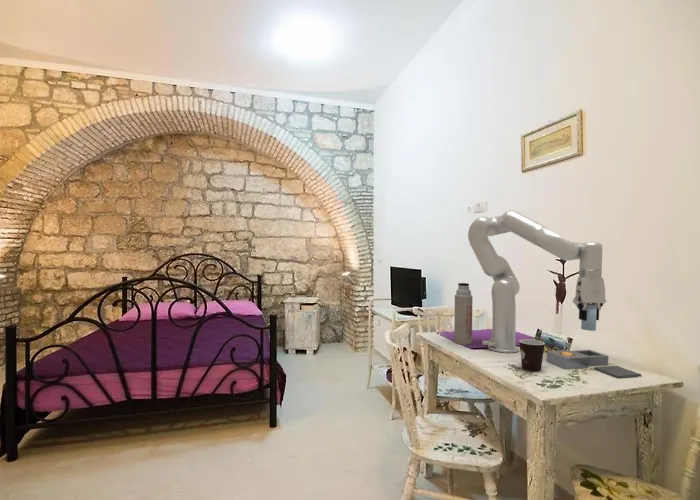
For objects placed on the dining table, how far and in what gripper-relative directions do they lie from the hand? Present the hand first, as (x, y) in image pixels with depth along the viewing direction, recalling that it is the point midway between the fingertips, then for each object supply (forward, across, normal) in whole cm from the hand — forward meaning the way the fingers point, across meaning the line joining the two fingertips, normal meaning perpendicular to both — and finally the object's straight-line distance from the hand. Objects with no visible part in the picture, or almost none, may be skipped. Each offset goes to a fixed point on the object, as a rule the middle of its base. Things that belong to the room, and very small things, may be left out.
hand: (588, 319), depth 153 cm
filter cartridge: (+4, 0, 0) cm, 4 cm away
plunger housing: (+17, -11, -1) cm, 20 cm away
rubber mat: (+17, 0, -13) cm, 21 cm away
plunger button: (+16, -11, -1) cm, 19 cm away
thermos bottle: (+18, -34, +37) cm, 53 cm away
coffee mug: (+17, -27, -2) cm, 32 cm away
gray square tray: (+17, 0, 0) cm, 17 cm away
